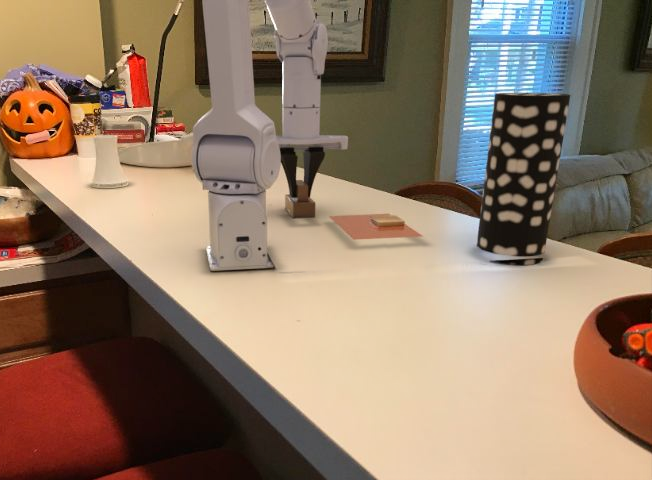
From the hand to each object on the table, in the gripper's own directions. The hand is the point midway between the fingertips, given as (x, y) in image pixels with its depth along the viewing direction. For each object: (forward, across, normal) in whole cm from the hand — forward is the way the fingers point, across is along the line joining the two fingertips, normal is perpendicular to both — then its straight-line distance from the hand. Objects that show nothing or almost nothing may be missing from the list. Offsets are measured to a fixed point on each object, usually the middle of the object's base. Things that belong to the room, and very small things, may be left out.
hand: (300, 196), depth 97 cm
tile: (+4, -9, +10) cm, 14 cm away
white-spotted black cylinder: (+4, -23, +24) cm, 33 cm away
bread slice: (+3, -12, +9) cm, 15 cm away
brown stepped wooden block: (+4, 0, 0) cm, 4 cm away
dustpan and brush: (+4, +18, -61) cm, 64 cm away
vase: (+4, +33, -37) cm, 50 cm away
